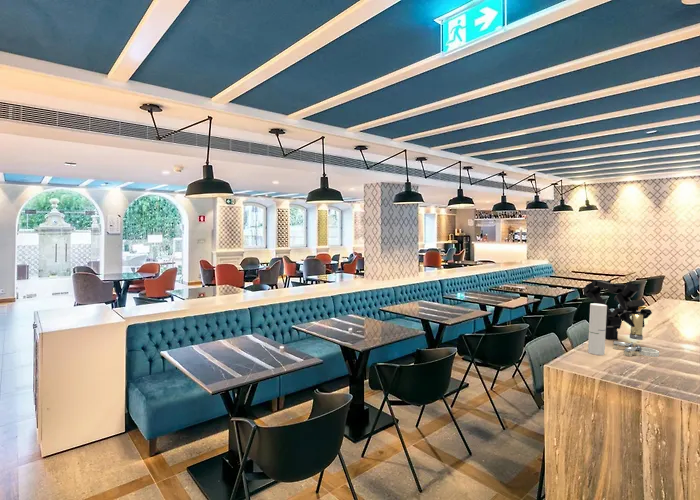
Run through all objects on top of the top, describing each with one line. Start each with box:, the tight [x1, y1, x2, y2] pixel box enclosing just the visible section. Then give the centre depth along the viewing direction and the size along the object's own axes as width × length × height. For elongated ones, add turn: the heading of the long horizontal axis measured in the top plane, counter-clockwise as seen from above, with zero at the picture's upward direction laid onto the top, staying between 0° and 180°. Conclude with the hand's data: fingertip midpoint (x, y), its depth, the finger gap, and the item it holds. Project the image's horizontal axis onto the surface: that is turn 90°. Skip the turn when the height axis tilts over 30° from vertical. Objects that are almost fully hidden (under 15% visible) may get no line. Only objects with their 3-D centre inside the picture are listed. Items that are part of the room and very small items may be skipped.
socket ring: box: [639, 346, 660, 358], centre depth 197 cm, size 10×10×2 cm
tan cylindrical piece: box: [629, 313, 644, 341], centre depth 205 cm, size 6×6×13 cm
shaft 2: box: [623, 345, 642, 357], centre depth 194 cm, size 8×3×5 cm, turn 107°
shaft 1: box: [612, 340, 634, 350], centre depth 204 cm, size 8×3×5 cm, turn 52°
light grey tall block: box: [587, 302, 608, 356], centre depth 196 cm, size 7×7×25 cm
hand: (638, 326), depth 204 cm, fingers closed on tan cylindrical piece, 5 cm apart
